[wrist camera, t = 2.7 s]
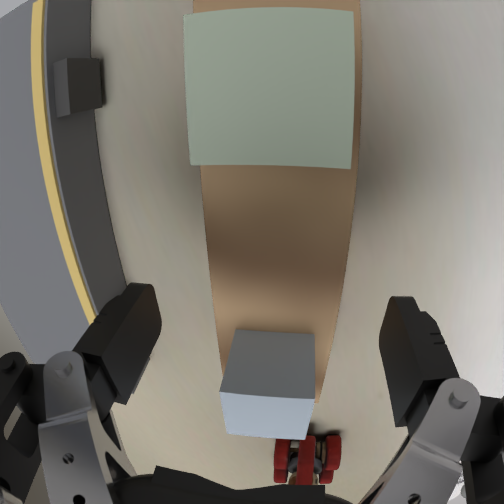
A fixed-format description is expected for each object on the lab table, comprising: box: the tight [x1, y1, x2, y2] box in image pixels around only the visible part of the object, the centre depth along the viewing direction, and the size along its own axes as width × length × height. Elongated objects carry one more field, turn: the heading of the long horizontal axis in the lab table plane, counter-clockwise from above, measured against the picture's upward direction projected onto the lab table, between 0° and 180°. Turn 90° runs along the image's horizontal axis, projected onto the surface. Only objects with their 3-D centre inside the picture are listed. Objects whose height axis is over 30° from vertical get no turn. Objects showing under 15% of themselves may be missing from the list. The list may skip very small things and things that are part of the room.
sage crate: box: [183, 7, 355, 169], centre depth 8 cm, size 4×4×4 cm
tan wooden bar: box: [193, 0, 362, 403], centre depth 15 cm, size 22×6×5 cm, turn 2°
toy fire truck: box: [274, 435, 341, 485], centre depth 26 cm, size 7×12×10 cm, turn 5°
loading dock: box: [0, 0, 150, 394], centre depth 17 cm, size 28×13×4 cm, turn 2°
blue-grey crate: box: [219, 329, 315, 440], centre depth 15 cm, size 4×4×4 cm
